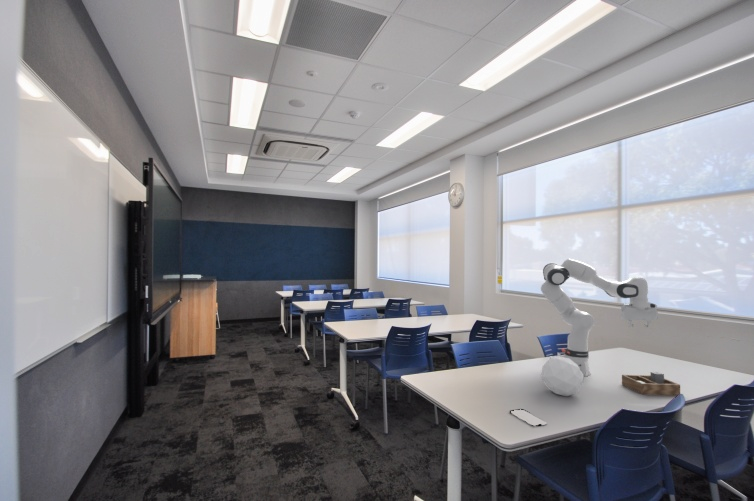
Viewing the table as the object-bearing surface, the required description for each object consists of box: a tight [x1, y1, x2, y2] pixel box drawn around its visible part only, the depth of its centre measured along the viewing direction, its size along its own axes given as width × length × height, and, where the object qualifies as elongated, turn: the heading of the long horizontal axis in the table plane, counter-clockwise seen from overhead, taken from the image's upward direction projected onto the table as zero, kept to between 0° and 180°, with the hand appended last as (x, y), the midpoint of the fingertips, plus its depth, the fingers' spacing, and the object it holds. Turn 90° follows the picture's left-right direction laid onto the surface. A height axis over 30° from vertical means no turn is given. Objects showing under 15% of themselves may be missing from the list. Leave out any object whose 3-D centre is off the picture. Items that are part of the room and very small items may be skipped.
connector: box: [650, 371, 665, 384], centre depth 190 cm, size 5×4×9 cm
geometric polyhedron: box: [540, 355, 584, 397], centre depth 183 cm, size 19×20×20 cm
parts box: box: [621, 374, 681, 396], centre depth 190 cm, size 20×15×6 cm
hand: (638, 327), depth 209 cm, fingers open, 8 cm apart
